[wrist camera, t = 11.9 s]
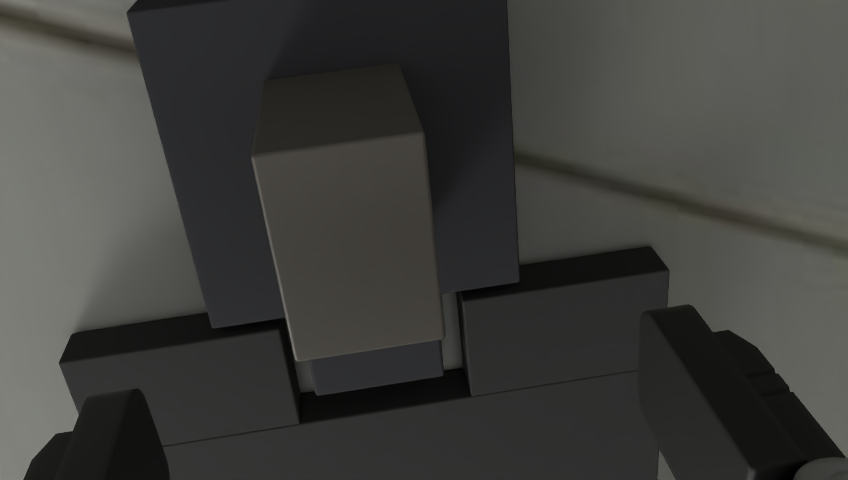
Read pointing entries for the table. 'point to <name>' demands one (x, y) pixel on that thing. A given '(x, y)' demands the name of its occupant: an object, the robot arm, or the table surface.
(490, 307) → the base pad
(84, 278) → the table surface
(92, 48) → the table surface
